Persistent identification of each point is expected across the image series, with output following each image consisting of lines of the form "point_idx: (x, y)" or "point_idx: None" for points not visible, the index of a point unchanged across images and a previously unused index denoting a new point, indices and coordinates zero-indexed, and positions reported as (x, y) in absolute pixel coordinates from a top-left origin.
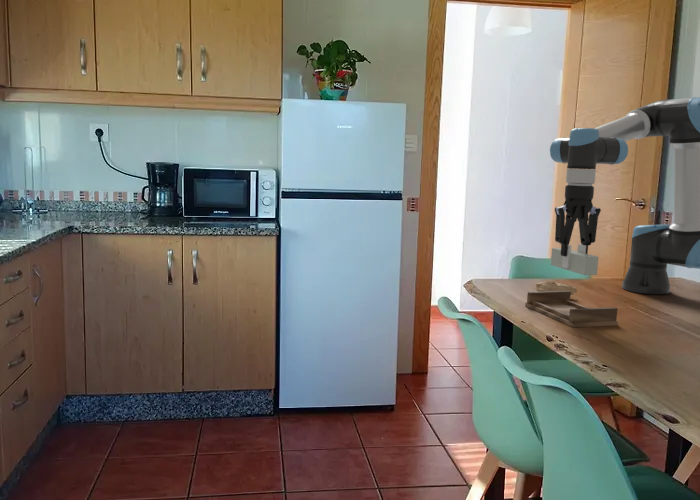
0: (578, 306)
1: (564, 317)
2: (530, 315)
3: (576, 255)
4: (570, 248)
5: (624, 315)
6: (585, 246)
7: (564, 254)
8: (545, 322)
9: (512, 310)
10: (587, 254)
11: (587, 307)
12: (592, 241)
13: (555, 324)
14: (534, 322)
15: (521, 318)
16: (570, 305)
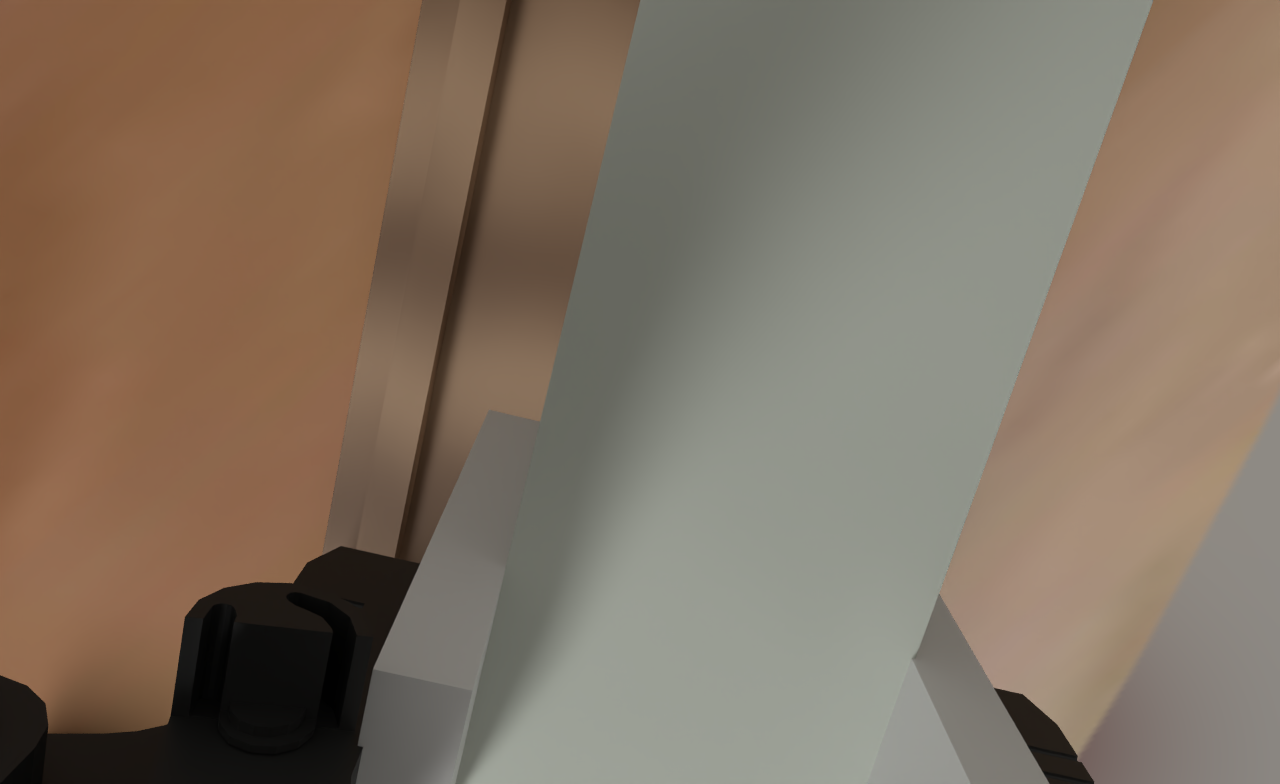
0: (428, 402)
1: None
2: (1051, 475)
3: (996, 394)
4: (981, 742)
5: (21, 52)
6: (405, 655)
7: (1033, 717)
8: (1153, 200)
9: (1050, 687)
10: (651, 290)
11: (410, 284)
12: (7, 711)
13: (1127, 92)
14: (1259, 248)
15: (1240, 422)
16: (404, 531)
